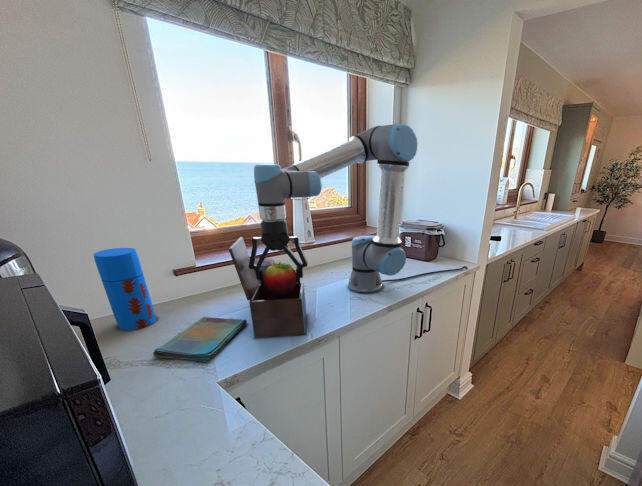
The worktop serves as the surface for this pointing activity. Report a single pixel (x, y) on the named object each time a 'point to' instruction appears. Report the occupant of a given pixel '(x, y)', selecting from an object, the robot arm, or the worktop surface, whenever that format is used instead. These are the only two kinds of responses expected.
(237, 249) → the chest lid
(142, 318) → the thermos
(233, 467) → the worktop surface
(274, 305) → the chest
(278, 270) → the fruit
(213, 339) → the dish towel
